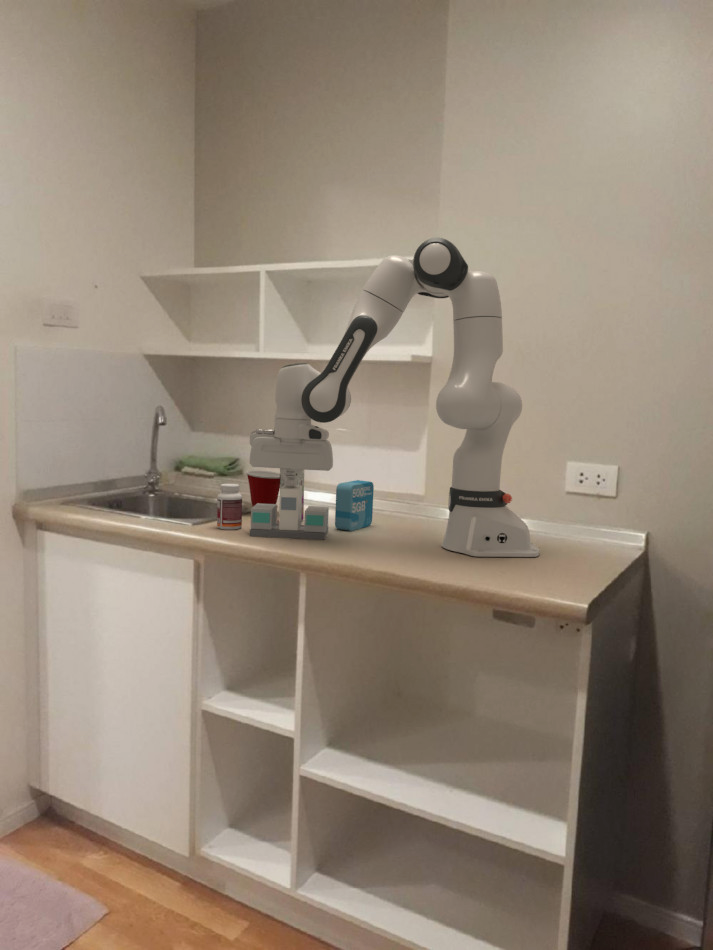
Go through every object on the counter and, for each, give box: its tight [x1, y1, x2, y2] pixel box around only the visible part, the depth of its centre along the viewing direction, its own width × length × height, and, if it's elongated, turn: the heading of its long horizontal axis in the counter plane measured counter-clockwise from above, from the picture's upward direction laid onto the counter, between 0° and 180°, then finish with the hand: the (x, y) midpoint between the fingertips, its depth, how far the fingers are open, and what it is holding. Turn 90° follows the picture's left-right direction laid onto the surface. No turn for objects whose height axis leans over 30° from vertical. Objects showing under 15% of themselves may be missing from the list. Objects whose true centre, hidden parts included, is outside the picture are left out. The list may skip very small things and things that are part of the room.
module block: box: [278, 486, 302, 531], centre depth 182 cm, size 4×7×10 cm, turn 177°
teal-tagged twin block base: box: [249, 503, 330, 541], centre depth 183 cm, size 18×10×7 cm, turn 87°
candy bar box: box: [280, 469, 305, 522], centre depth 198 cm, size 11×5×16 cm, turn 174°
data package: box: [334, 479, 375, 532], centre depth 195 cm, size 12×4×12 cm, turn 150°
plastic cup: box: [245, 469, 280, 508], centre depth 209 cm, size 11×11×12 cm
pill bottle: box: [216, 483, 243, 531], centre depth 187 cm, size 6×6×11 cm
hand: (290, 487), depth 182 cm, fingers closed, pressing on module block
